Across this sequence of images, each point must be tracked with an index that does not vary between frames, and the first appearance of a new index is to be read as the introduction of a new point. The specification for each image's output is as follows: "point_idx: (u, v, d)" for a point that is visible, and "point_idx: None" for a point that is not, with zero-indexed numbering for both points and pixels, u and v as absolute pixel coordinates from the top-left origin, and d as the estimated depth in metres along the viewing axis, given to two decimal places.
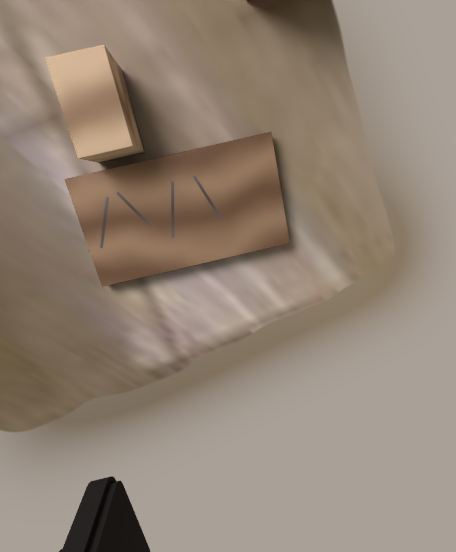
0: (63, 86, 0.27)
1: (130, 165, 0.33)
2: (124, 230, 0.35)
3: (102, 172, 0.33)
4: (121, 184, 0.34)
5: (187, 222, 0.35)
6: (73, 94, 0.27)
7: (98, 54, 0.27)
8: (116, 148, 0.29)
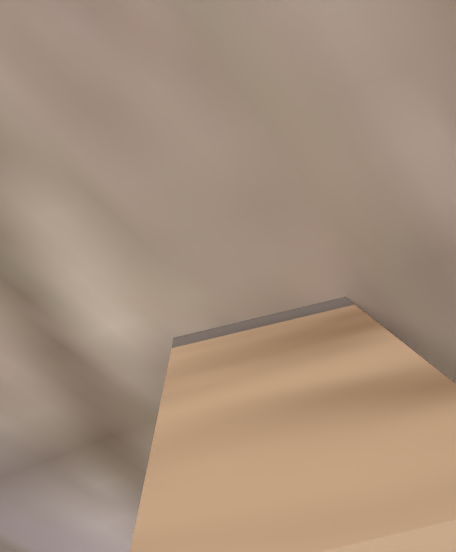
0: None
1: None
2: None
3: None
4: None
5: None
6: None
7: None
8: None
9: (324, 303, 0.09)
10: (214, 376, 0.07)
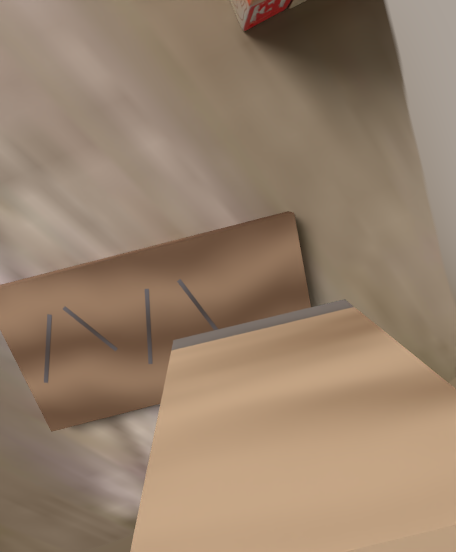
0: None
1: (81, 269, 0.22)
2: (78, 358, 0.24)
3: (39, 281, 0.22)
4: (69, 296, 0.22)
5: (171, 342, 0.24)
6: None
7: None
8: None
9: (323, 305, 0.09)
10: (214, 379, 0.07)
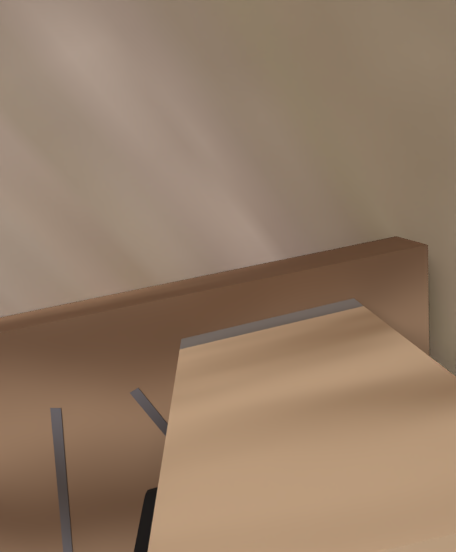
0: None
1: None
2: None
3: None
4: None
5: (115, 516, 0.11)
6: None
7: None
8: None
9: (332, 304, 0.09)
10: (224, 379, 0.07)
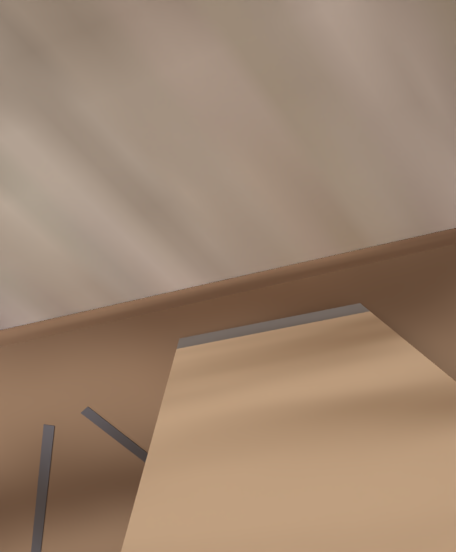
0: None
1: (135, 321, 0.09)
2: (112, 516, 0.10)
3: (26, 347, 0.09)
4: (100, 384, 0.09)
5: None
6: None
7: None
8: None
9: (337, 308, 0.09)
10: (218, 381, 0.06)
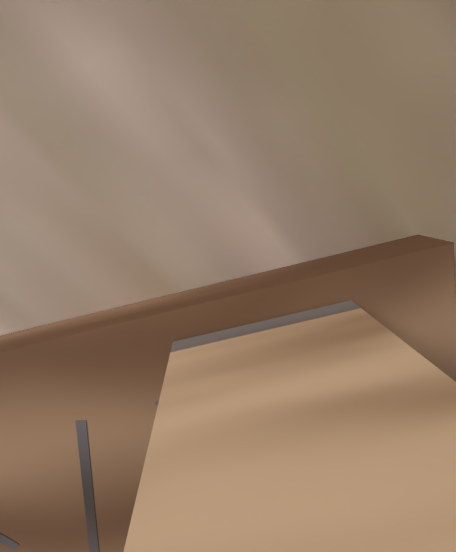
0: None
1: None
2: None
3: None
4: None
5: None
6: None
7: None
8: None
9: (329, 306, 0.09)
10: (214, 383, 0.06)
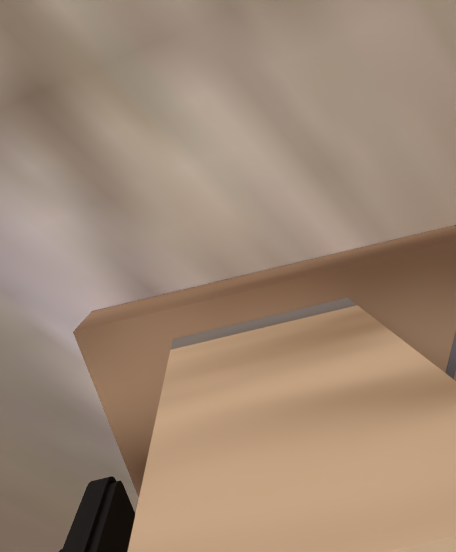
0: None
1: (324, 277, 0.09)
2: None
3: (217, 304, 0.09)
4: None
5: None
6: None
7: None
8: None
9: (326, 303, 0.09)
10: (214, 379, 0.07)
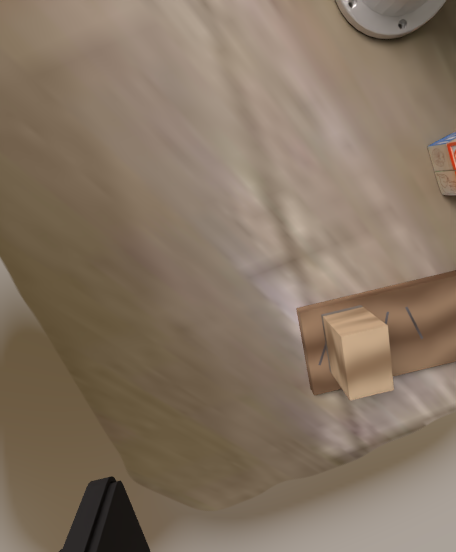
0: (350, 354, 0.34)
1: (355, 300, 0.39)
2: None
3: (331, 306, 0.39)
4: None
5: (394, 342, 0.41)
6: (356, 359, 0.34)
7: (382, 332, 0.34)
8: (380, 392, 0.36)
9: (356, 306, 0.39)
10: (337, 320, 0.37)
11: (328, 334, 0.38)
